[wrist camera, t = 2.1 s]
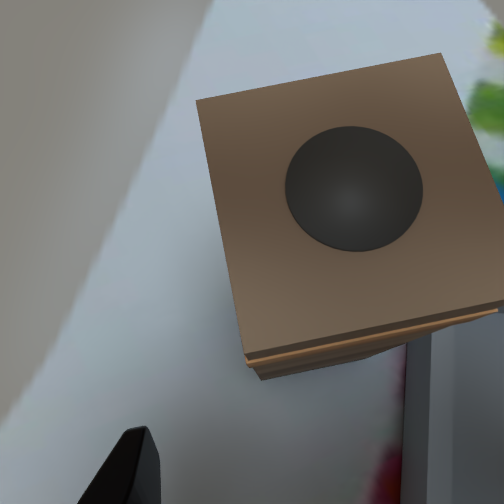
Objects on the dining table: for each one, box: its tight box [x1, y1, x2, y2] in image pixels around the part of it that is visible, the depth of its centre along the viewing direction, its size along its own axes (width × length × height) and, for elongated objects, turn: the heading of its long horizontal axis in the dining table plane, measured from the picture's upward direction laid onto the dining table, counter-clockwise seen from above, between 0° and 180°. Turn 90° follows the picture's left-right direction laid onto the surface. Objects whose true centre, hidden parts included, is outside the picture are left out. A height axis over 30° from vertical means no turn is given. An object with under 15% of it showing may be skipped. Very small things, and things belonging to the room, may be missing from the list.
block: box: [196, 53, 504, 381], centre depth 13 cm, size 5×5×13 cm
